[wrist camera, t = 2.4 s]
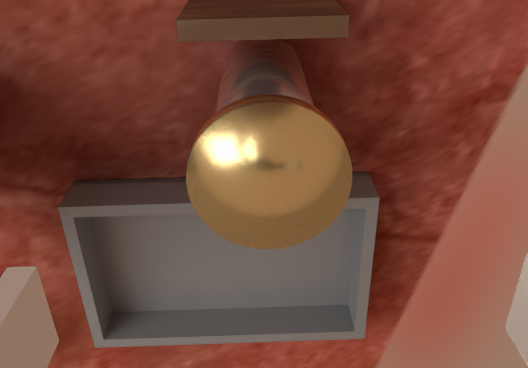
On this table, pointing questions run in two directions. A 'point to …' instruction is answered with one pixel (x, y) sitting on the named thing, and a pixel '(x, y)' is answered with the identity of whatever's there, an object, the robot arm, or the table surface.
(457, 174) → the table surface
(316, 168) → the silver metal cylinder
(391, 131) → the table surface
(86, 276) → the tray
